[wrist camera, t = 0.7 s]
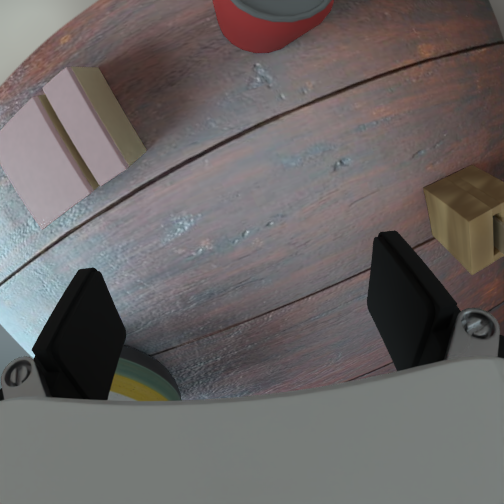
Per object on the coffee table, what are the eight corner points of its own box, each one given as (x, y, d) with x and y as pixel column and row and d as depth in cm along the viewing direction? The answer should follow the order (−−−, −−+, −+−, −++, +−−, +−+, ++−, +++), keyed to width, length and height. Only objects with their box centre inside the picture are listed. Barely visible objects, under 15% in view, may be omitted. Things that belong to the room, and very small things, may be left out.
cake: (68, 90, 22) (32, 96, 17) (116, 170, 26) (90, 193, 21) (25, 129, 23) (-12, 143, 18) (71, 202, 27) (41, 230, 22)
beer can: (307, 48, 22) (362, 27, 12) (227, 61, 22) (222, 43, 12) (291, -21, 19) (331, -81, 8) (210, -9, 19) (195, -69, 9)
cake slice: (98, 67, 21) (66, 66, 16) (147, 150, 26) (126, 169, 20) (76, 83, 22) (41, 88, 17) (124, 165, 26) (100, 187, 21)
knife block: (471, 164, 27) (521, 191, 20) (477, 211, 30) (520, 244, 23) (422, 187, 29) (468, 221, 22) (432, 235, 31) (471, 275, 25)
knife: (456, 184, 29) (562, 263, 15) (460, 209, 30) (556, 294, 16) (445, 190, 29) (550, 273, 15) (449, 215, 30) (544, 303, 16)
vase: (125, 414, 45) (104, 546, 24) (48, 349, 37) (-9, 496, 16) (210, 389, 42) (208, 556, 21) (127, 309, 34) (69, 518, 13)
